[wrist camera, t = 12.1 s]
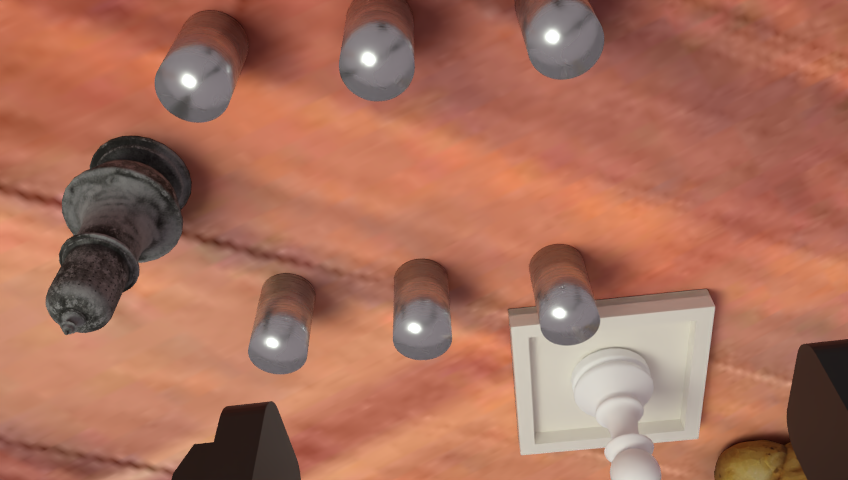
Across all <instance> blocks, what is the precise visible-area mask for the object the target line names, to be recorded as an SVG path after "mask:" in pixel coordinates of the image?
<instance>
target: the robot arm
mask: <svg viewBox="0 0 848 480" xmlns="http://www.w3.org/2000/svg"><path fill="white" fill-rule="evenodd" d="M787 426H788V433H789V437H790V441H791V444H792V447H793V450H794V452H795V455H796V457H797V459H798V461H799V463H800V465H801V467H802V470H803V472H804V474H805V476H806V478H807V480H848V339H845V340H836V341H827V342H818V343H809V344H803V345H801V346H800V348H799V350H798V353H797V359H796V364H795V370H794V375H793V380H792V386H791V391H790V397H789V402H788V408H787ZM172 480H301V477H300V470H299V465H298V461H297V458H296V455H295V453H294V450H293V448H292V445H291V442H290V440H289V437H288V435H287V432H286V429H285V427H284V424H283V421H282V419H281V416H280V414H279V411H278V409H277V406H276V405H275V403H274V402H272V401H271V402H262V403H253V404H244V405H235V406H227V407H225V408H224V409H223V411H222V413H221V416H220V419H219V423H218V427H217V431H216V435H215V439H214V442H212V443H203V444H194V445H193V447H192V448H191V449H190V451H189V452H188V454H187V455H186V456H185V458H184V459H183V461H182V462H181V463H180V465H179V466H178V468H177V469H176V470H175V472H174V473H173V476H172Z"/></svg>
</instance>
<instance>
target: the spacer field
mask: <svg viewBox="0 0 848 480" xmlns="http://www.w3.org/2000/svg"><path fill="white" fill-rule="evenodd" d="M515 11H516V15H517V18H518V22H519V25H520V28H521V32H522V35H523V38H524V42H525V45H526V48H527V52H528V55H529V58H530V61H531V63H532V64H533V66H534V67H535V68H536V69H537V70H538V71H539V72H540V73H541V74H543V75H545V76H547V77H550V78H553V79H570V78H574V77H577V76H579V75H581V74H583V73H585V72H586V71H588V70H589V69H590V68H591V67H592V66H593V65H594V64H595V63H596V62H597V60H598V59H599V57H600V55H601V53H602V50H603V46H604V33H603V29H602V26H601V24H600V22H599V20H598V18H597V16H596V14H595V12H594V10H593V8H592V7H591V5H590V3H589V1H588V0H515ZM248 48H249V46H248V39H247V36H246V33H245V31H244V30H243V28H242V27H241V25H240V24H239V23H238V22H237V21H236V20H235V19H233V18H232V17H230V16H229V15H227V14H225V13H222V12H219V11H212V10H208V11H201V12H198V13H196V14H194V15H192V16H191V17H190V18H189V19H188V20H187V21H186V22H185V24H184V25H183V27H182V29H181V31H180V32H179V34H178V36H177V38H176V39H175V41H174V43H173V45H172V46H171V48H170V50H169V52H168V53H167V55H166V57H165V59H164V60H163V62H162V64H161V66H160V67H159V69H158V71H157V73H156V77H155V90H156V93H157V96H158V98H159V100H160V102H161V103H162V104H163V106H164V107H165V108H166V109H167V110H168V111H169V112H170V113H172V114H173V115H175V116H176V117H178V118H180V119H183V120H186V121H190V122H198V123H199V122H207V121H211V120H213V119H216V118H217V117H219V116H220V115H221V114H222V113H223V112H224V111H225V110H226V108H227V107H228V104H229V102H230V99H231V97H232V94H233V91H234V89H235V86H236V83H237V81H238V78H239V75H240V73H241V70H242V68H243V65H244V62H245V60H246V57H247V54H248ZM414 68H415V64H414V22H413V14H412V11H411V9H410V7H409V5H408V4H407V2H406V1H405V0H354V1H353V2H352V3H351V5H350V6H349V9H348V11H347V15H346V22H345V28H344V35H343V41H342V47H341V54H340V60H339V70H340V75H341V78H342V80H343V82H344V83H345V85H346V86H347V88H348V89H349V90H350V91H351V92H353V93H354V94H355V95H357V96H359V97H361V98H363V99H366V100H370V101H385V100H389V99H392V98H395V97H397V96H398V95H400V94H401V93H402V92H404V91H405V90H406V89H407V87H408V86H409V85H410V83H411V81H412V78H413V75H414ZM529 272H530V277H531V282H532V287H533V292H534V297H535V303H536V308H537V313H538V318H539V323H540V328H541V332H542V334H543V336H544V337H545V338H546V339H547V340H549V341H550V342H552V343H554V344H558V345H564V346H569V345H576V344H580V343H582V342H584V341H586V340H588V339H590V338H591V337H592V336H593V335H594V334H595V333H596V332H597V330H598V328H599V326H600V316H599V313H598V309H597V306H596V302H595V299H594V295H593V292H592V288H591V285H590V281H589V278H588V274H587V271H586V267H585V264H584V261H583V257H582V255H581V254H580V252H579V251H578V250H576V249H575V248H573V247H571V246H568V245H563V244H555V245H550V246H547V247H545V248H543V249H541V250H539V251H538V252H537V253H536V254H535V255H534V256H533V257H532V259H531V261H530V264H529ZM314 302H315V291H314V288H313V287H312V285H311V284H310V283H309V282H308V281H307V280H306V279H304V278H302V277H300V276H298V275H294V274H278V275H275V276H272V277H271V278H269V279H268V280H267V281H266V282H265V283H264V284H263V286H262V290H261V294H260V299H259V303H258V308H257V312H256V317H255V321H254V326H253V330H252V335H251V339H250V344H249V349H248V354H249V357H250V360H251V361H252V362H253V364H254V365H255V366H257V367H258V368H259V369H261V370H263V371H266V372H269V373H273V374H288V373H292V372H294V371H296V370H298V369H300V368H301V367H302V366H303V365H304V363H305V362H306V359H307V353H308V346H309V338H310V331H311V324H312V316H313V309H314ZM451 342H452V331H451V316H450V302H449V287H448V276H447V273H446V271H445V269H444V268H443V267H442V266H441V265H439V264H438V263H436V262H434V261H431V260H427V259H416V260H412V261H409V262H407V263H405V264H403V265H402V266H401V267H400V268H399V269H398V270H397V271H396V273H395V276H394V311H393V343H394V346H395V348H396V349H397V350H398V351H399V352H400V353H401V354H402V355H404V356H406V357H408V358H411V359H415V360H428V359H433V358H436V357H438V356H440V355H442V354H443V353H445V352H446V351H447V350H448V348H449V347H450V345H451Z"/></svg>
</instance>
